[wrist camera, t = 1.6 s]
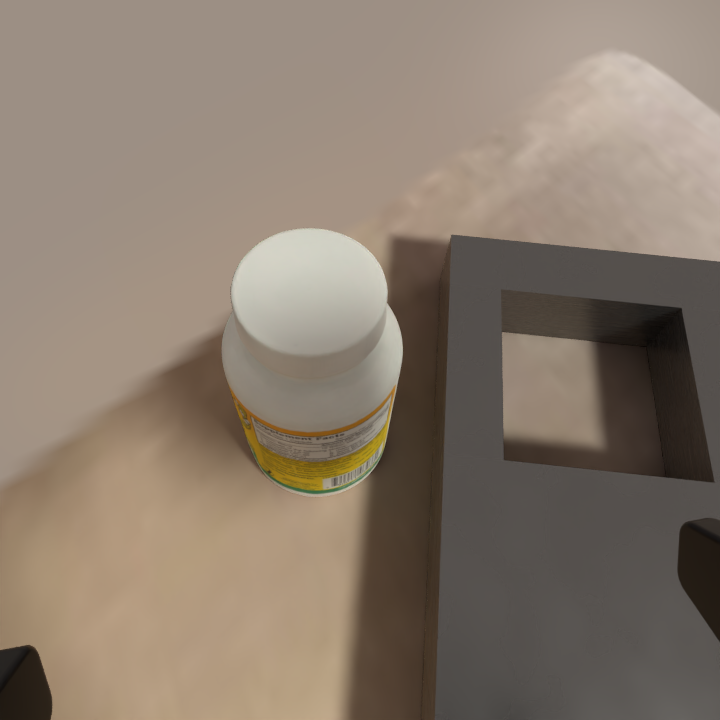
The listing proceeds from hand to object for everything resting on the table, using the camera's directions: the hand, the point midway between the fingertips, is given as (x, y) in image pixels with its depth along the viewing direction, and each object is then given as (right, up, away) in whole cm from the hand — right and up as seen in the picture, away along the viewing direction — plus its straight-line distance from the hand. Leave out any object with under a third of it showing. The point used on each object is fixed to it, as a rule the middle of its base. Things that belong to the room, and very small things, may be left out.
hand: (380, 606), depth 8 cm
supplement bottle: (-2, 0, +15) cm, 16 cm away
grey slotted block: (+8, -1, +15) cm, 17 cm away
